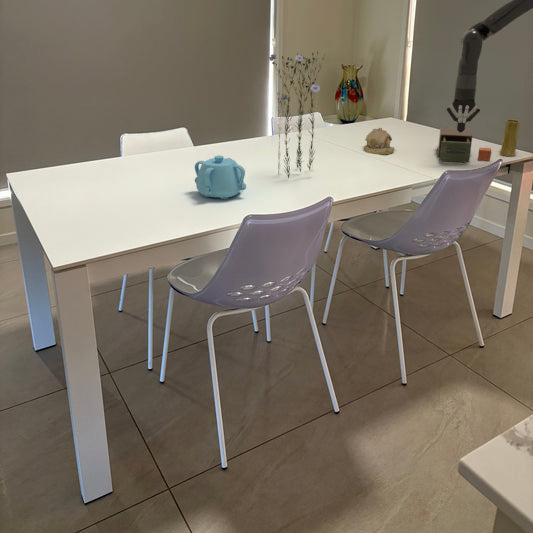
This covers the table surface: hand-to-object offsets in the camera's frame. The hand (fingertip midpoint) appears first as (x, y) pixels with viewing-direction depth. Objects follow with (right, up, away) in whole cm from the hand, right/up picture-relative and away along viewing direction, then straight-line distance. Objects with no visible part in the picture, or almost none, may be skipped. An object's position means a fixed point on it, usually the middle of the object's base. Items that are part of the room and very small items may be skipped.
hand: (460, 131), depth 231 cm
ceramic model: (-27, -2, +27) cm, 38 cm away
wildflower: (-65, -18, -6) cm, 68 cm away
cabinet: (+4, -5, +21) cm, 22 cm away
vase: (+26, -5, +19) cm, 32 cm away
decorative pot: (-92, -28, -25) cm, 100 cm away
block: (+14, -9, +12) cm, 20 cm away
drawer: (+1, -9, +10) cm, 13 cm away
